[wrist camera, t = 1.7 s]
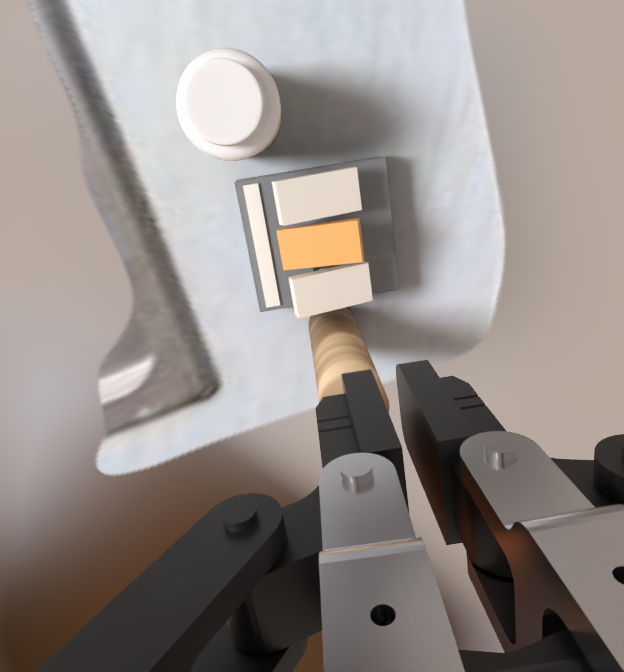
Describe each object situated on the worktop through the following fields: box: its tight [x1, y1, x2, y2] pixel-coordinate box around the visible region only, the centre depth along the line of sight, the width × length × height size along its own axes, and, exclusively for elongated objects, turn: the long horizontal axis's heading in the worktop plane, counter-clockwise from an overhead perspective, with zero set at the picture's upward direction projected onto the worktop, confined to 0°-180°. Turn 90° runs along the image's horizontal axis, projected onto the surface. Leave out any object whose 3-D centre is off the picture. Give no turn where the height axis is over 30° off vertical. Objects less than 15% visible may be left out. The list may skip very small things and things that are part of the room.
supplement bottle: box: [176, 48, 281, 161], centre depth 30 cm, size 6×6×10 cm
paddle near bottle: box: [272, 167, 362, 226], centre depth 32 cm, size 3×5×2 cm, turn 99°
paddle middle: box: [276, 218, 364, 270], centre depth 33 cm, size 3×5×1 cm, turn 99°
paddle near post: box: [288, 261, 373, 319], centre depth 34 cm, size 3×5×1 cm, turn 99°
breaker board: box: [235, 157, 399, 312], centre depth 36 cm, size 9×10×4 cm
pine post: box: [309, 307, 389, 413], centre depth 34 cm, size 4×4×14 cm
